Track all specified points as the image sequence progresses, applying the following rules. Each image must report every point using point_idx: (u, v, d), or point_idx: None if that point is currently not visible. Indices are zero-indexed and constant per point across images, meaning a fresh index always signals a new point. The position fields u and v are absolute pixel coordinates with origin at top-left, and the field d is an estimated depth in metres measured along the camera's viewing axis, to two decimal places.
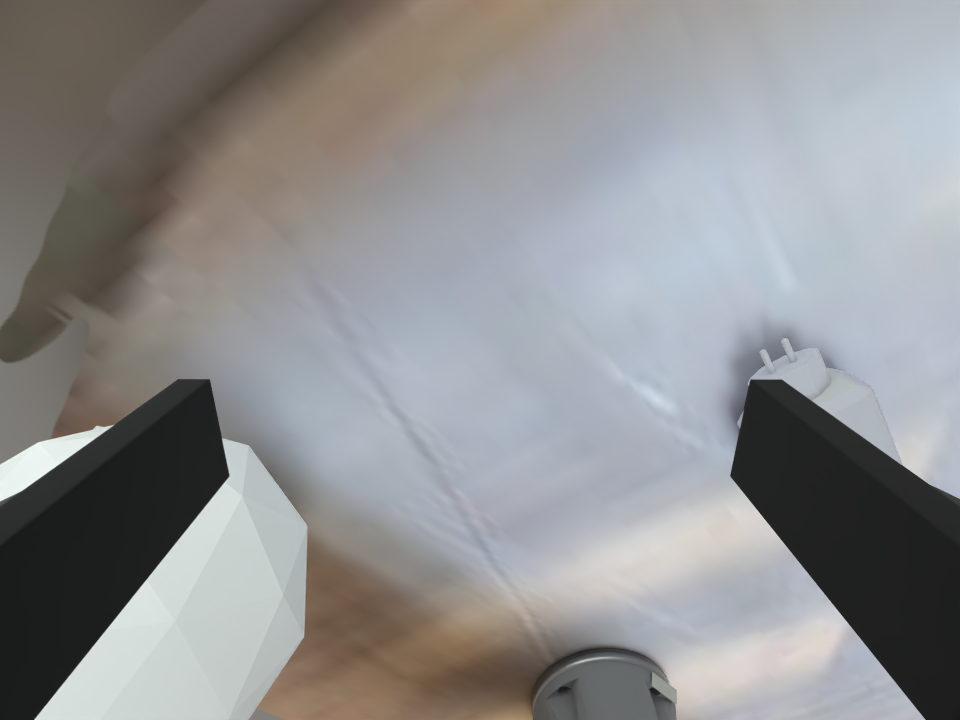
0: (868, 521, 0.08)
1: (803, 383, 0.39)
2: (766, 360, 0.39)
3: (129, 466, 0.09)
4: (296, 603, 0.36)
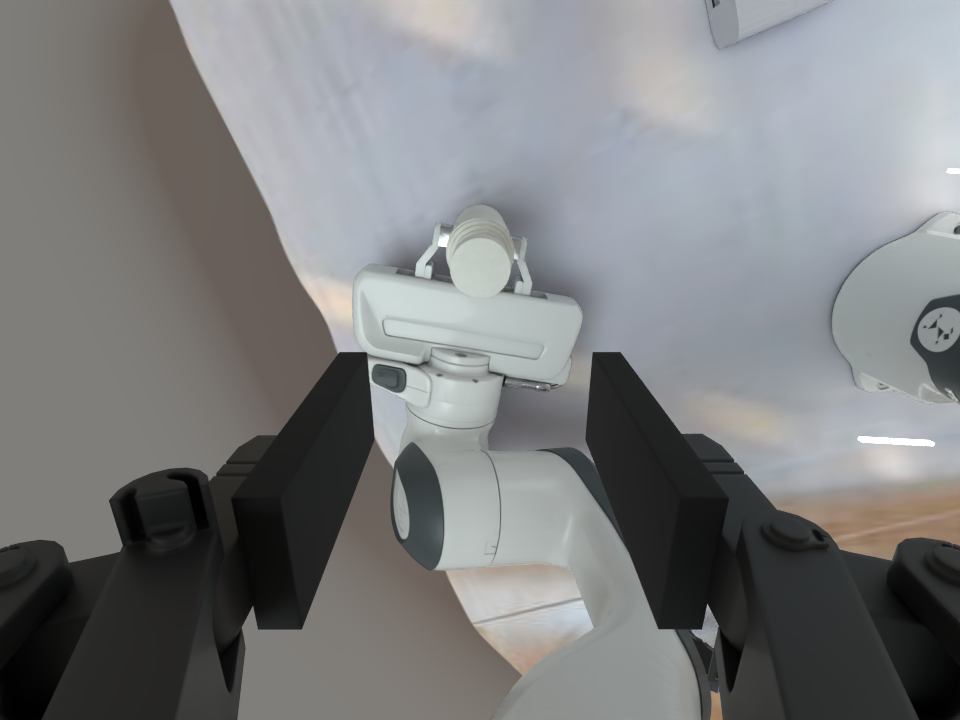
0: (633, 460, 0.10)
1: None
2: None
3: (339, 418, 0.11)
4: None
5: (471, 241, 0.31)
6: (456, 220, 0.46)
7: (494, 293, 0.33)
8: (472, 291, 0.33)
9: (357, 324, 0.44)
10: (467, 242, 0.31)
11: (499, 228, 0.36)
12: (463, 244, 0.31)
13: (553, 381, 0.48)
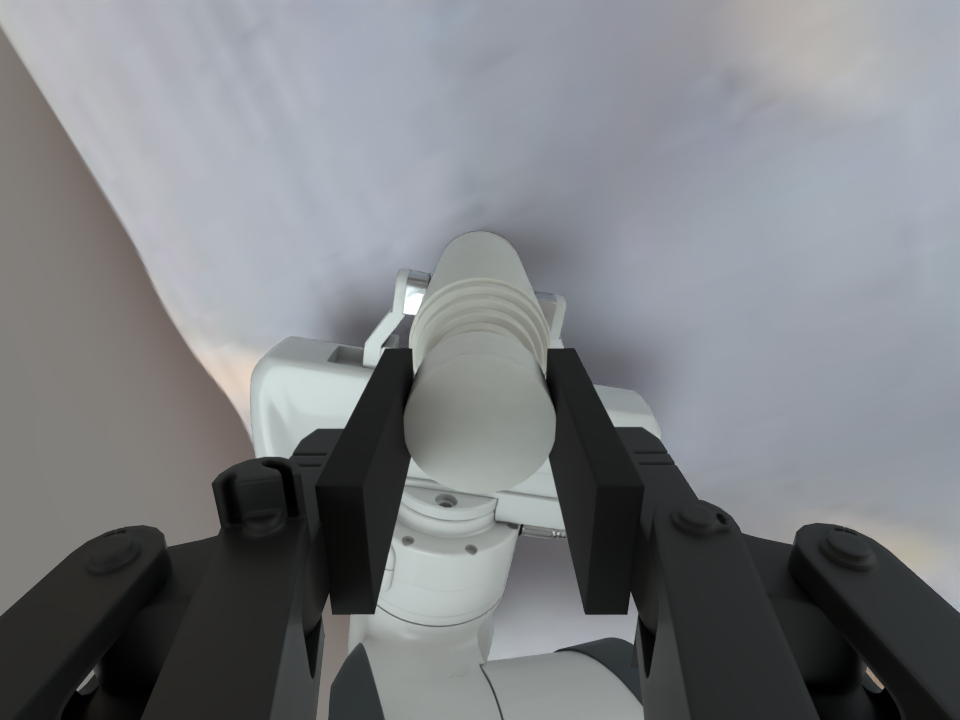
0: (570, 451, 0.10)
1: None
2: None
3: (396, 412, 0.11)
4: None
5: (456, 365, 0.12)
6: (439, 261, 0.26)
7: (514, 482, 0.13)
8: (460, 478, 0.13)
9: (260, 451, 0.25)
10: (446, 368, 0.12)
11: (521, 301, 0.17)
12: (436, 372, 0.12)
13: None
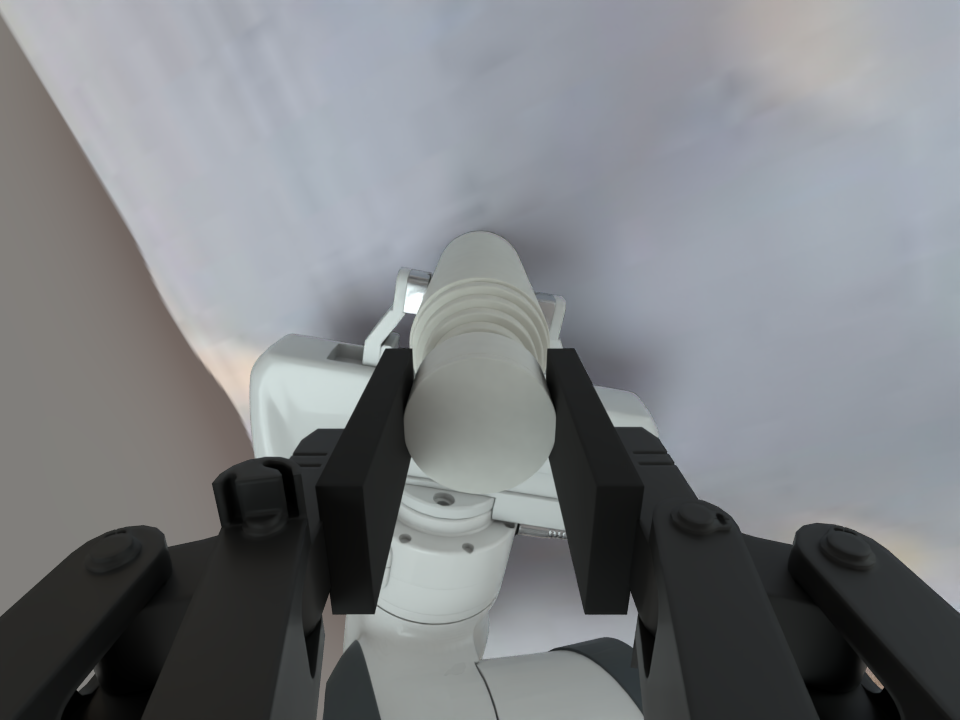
0: (570, 452, 0.10)
1: None
2: None
3: (396, 412, 0.11)
4: None
5: (450, 484, 0.13)
6: (439, 261, 0.27)
7: (497, 363, 0.12)
8: (535, 404, 0.12)
9: (259, 447, 0.25)
10: (458, 489, 0.13)
11: (521, 302, 0.17)
12: (469, 490, 0.13)
13: None
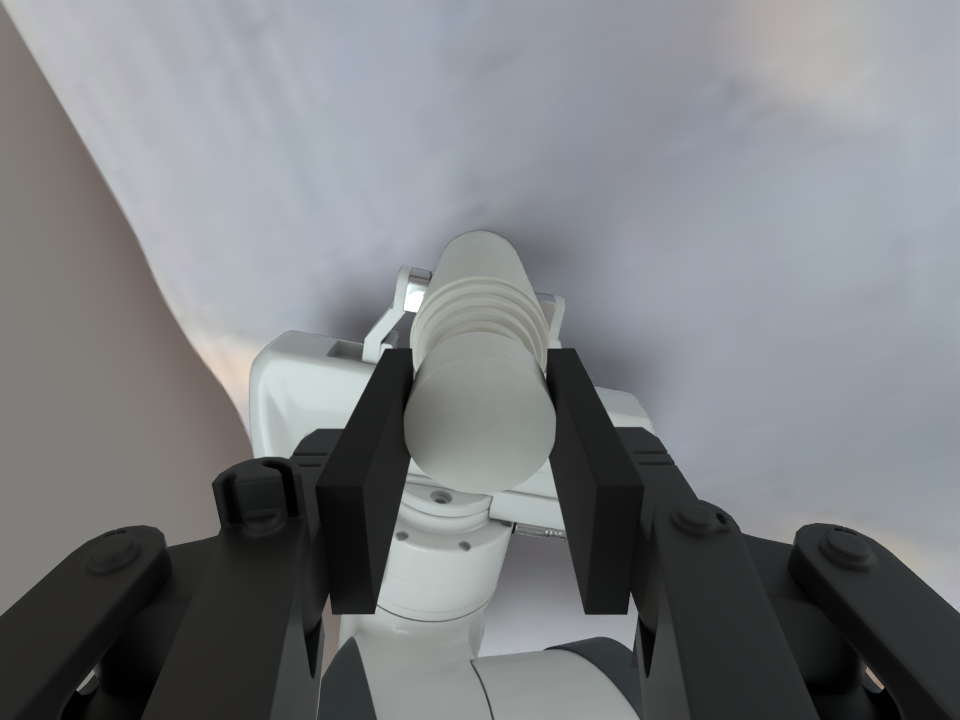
0: (570, 451, 0.10)
1: None
2: None
3: (395, 412, 0.11)
4: None
5: (547, 406, 0.12)
6: (440, 260, 0.27)
7: (420, 464, 0.13)
8: (419, 415, 0.12)
9: (257, 443, 0.25)
10: (545, 397, 0.12)
11: (522, 301, 0.17)
12: (539, 387, 0.12)
13: None
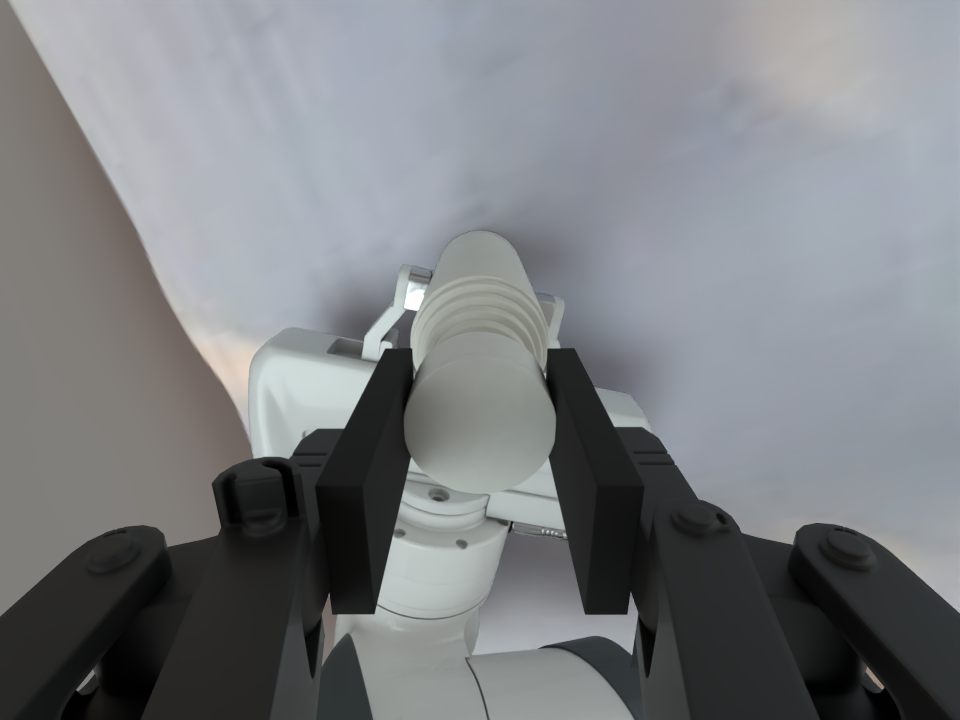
0: (570, 451, 0.10)
1: None
2: None
3: (396, 412, 0.11)
4: None
5: (412, 405, 0.12)
6: (440, 259, 0.27)
7: (551, 440, 0.13)
8: (510, 474, 0.13)
9: (256, 439, 0.25)
10: (408, 413, 0.12)
11: (522, 301, 0.17)
12: (406, 422, 0.13)
13: None
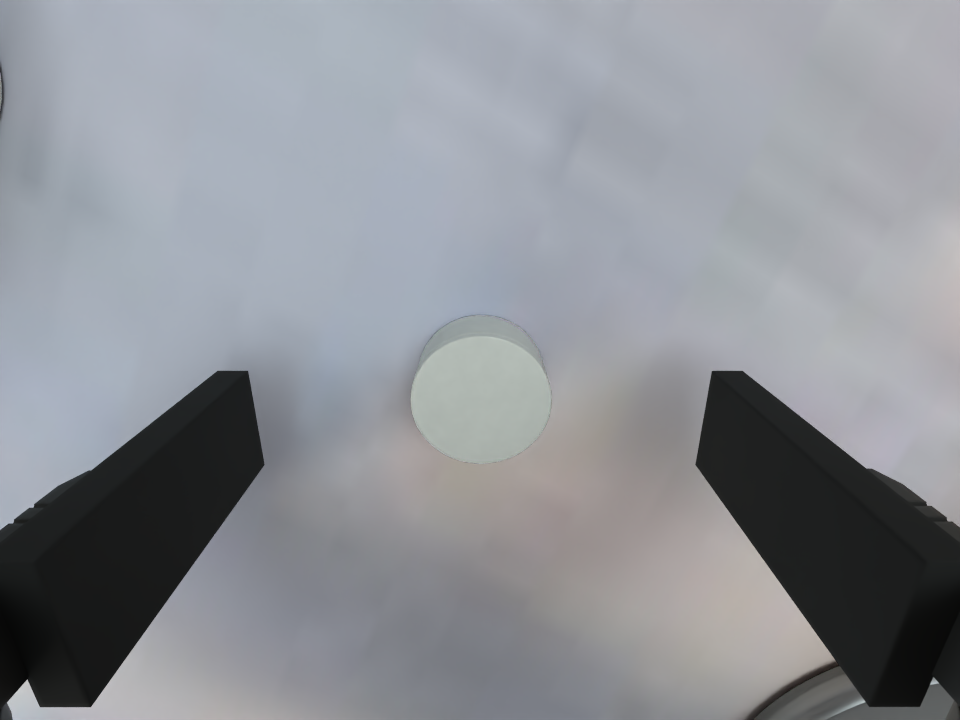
0: (807, 501, 0.09)
1: None
2: None
3: (182, 451, 0.10)
4: None
5: (419, 380, 0.14)
6: None
7: (546, 413, 0.14)
8: (508, 445, 0.14)
9: None
10: (415, 388, 0.14)
11: None
12: (413, 397, 0.14)
13: None
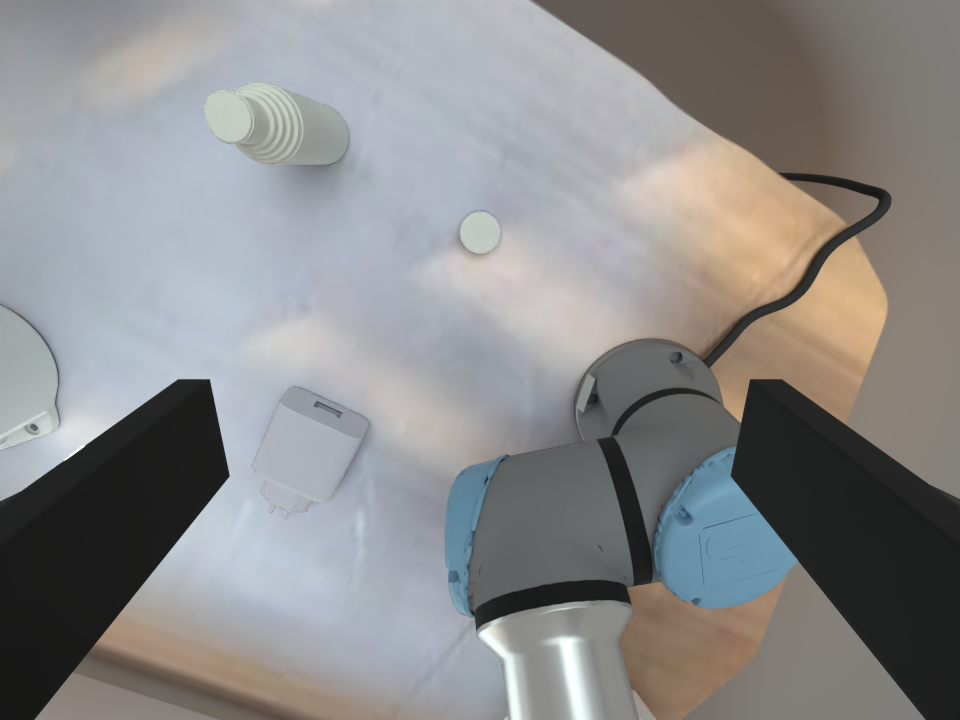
0: (868, 521, 0.08)
1: (280, 495, 0.56)
2: (286, 514, 0.58)
3: (129, 466, 0.09)
4: None
5: (462, 225, 0.48)
6: (338, 128, 0.43)
7: (499, 236, 0.48)
8: (488, 247, 0.48)
9: None
10: (461, 228, 0.48)
11: (269, 161, 0.35)
12: (460, 231, 0.48)
13: None
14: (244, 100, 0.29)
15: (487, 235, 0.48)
